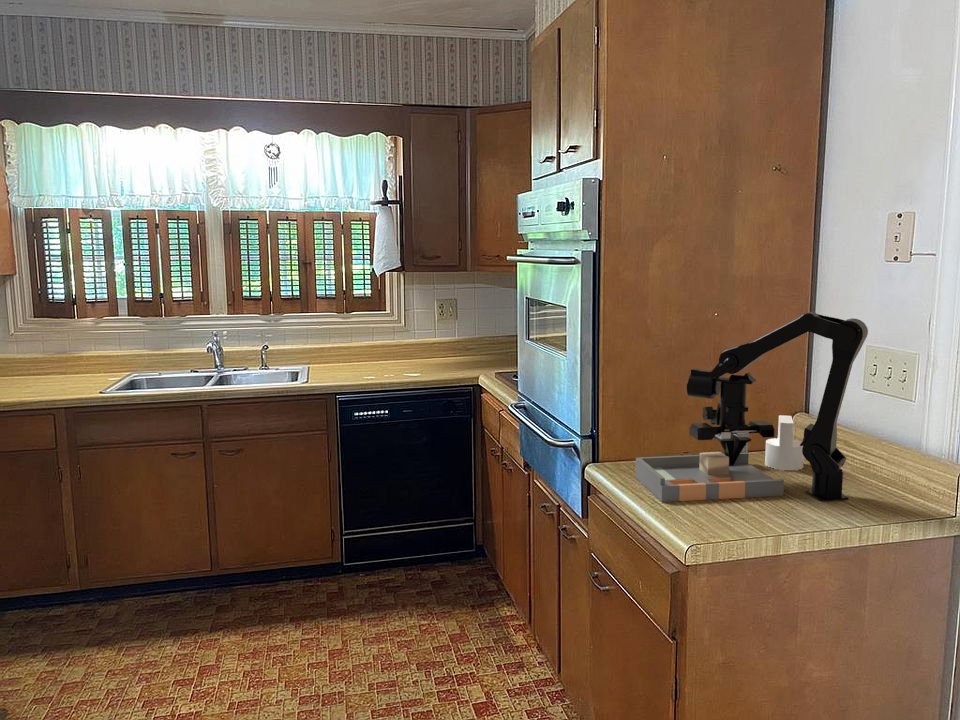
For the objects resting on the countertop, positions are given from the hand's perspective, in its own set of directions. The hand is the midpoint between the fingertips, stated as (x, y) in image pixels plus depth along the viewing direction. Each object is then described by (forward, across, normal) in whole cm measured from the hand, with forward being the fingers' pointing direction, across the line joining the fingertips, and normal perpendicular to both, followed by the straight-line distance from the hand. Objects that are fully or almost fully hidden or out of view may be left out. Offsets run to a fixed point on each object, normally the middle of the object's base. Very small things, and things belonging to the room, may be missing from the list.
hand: (730, 465), depth 178 cm
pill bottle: (+4, -8, -13) cm, 15 cm away
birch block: (+1, +4, 0) cm, 4 cm away
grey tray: (+4, +7, +3) cm, 9 cm away
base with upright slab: (+4, -19, -10) cm, 22 cm away
